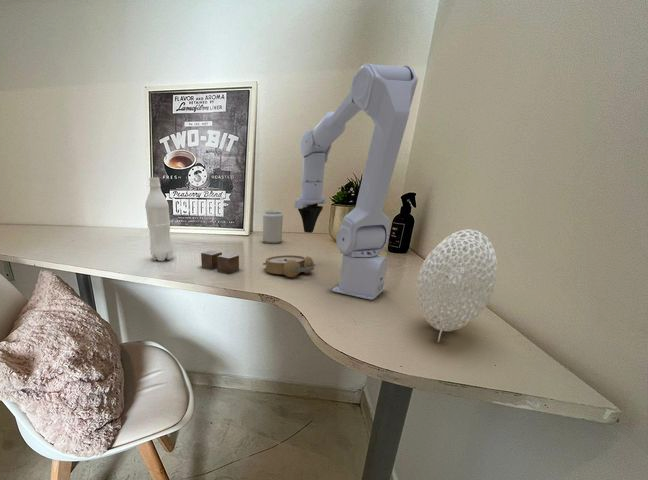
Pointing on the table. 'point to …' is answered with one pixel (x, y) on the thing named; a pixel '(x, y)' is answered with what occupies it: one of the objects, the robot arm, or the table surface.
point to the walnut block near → (228, 263)
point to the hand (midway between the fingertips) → (308, 232)
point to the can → (272, 226)
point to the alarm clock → (289, 265)
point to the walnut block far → (210, 259)
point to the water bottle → (158, 222)
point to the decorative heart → (456, 280)
